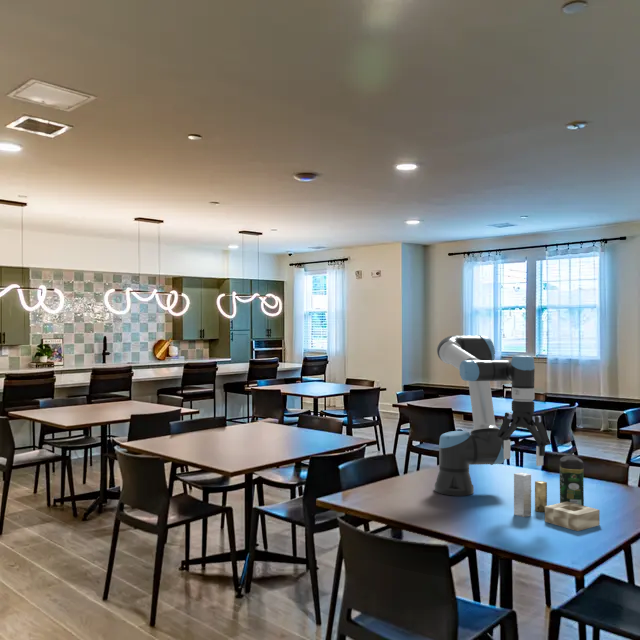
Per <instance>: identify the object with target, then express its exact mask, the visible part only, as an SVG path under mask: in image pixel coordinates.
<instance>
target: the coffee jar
mask: <svg viewBox="0 0 640 640" xmlns="http://www.w3.org/2000/svg"><path fill="white" fill-rule="evenodd" d="M584 468H585V467H584V461H583V460H582V459H581V458H579V457H577V456H576V455H564V456H562V457H560V458H559V503H563V502H571V503H575V504H579V505H583V506H585V501H584V499H585V496H584V489H585V488H584V487H585V483H584V470H585V469H584Z"/></svg>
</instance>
